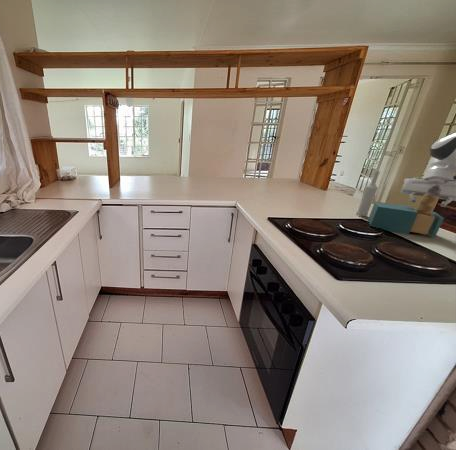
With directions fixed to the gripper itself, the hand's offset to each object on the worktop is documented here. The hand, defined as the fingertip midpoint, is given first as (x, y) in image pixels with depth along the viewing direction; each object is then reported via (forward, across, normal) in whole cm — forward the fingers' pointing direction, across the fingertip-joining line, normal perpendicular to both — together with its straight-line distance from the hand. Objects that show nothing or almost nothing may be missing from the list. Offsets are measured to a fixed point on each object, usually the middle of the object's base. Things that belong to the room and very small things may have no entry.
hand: (427, 203), depth 107 cm
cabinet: (+11, -10, +9) cm, 17 cm away
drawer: (+9, -1, +9) cm, 13 cm away
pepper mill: (+9, 0, +8) cm, 12 cm away
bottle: (0, -21, +20) cm, 29 cm away
